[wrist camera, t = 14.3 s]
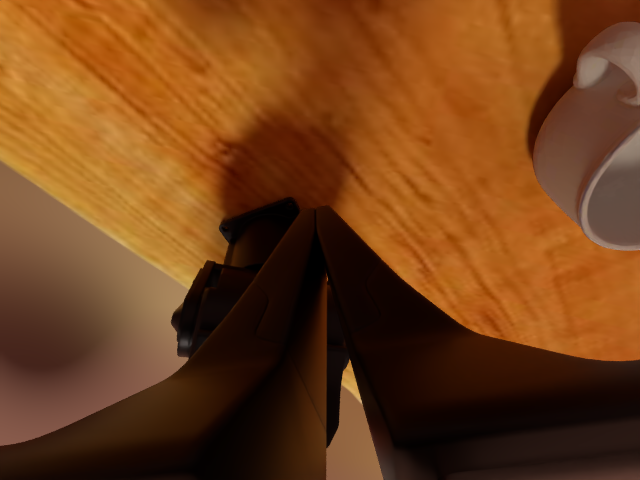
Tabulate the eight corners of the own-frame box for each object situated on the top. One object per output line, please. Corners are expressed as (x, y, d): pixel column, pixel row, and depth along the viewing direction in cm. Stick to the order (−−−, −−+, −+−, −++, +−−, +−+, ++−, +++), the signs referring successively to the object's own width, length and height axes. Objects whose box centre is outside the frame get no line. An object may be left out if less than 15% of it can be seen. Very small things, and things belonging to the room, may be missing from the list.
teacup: (681, 134, 23) (831, 185, 16) (530, 215, 26) (605, 283, 20) (674, -82, 15) (938, -140, 9) (469, 71, 19) (555, 105, 13)
